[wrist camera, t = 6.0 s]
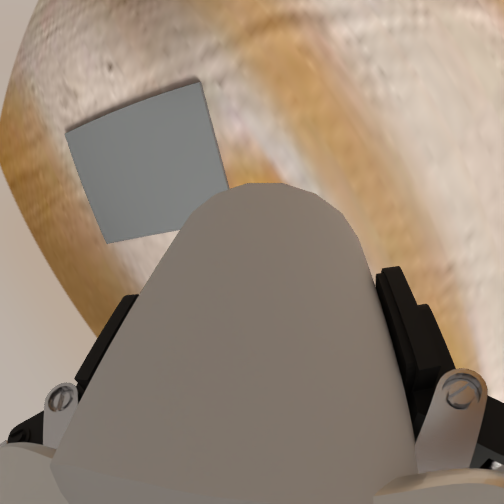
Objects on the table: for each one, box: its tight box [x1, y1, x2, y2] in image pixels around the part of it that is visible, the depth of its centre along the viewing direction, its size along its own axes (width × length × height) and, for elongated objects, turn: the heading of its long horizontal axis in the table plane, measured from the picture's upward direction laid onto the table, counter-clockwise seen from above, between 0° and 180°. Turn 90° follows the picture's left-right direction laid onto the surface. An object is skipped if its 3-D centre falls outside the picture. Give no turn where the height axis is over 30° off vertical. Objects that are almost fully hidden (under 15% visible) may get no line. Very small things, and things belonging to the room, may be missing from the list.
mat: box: [65, 82, 229, 244], centre depth 28 cm, size 13×15×1 cm
